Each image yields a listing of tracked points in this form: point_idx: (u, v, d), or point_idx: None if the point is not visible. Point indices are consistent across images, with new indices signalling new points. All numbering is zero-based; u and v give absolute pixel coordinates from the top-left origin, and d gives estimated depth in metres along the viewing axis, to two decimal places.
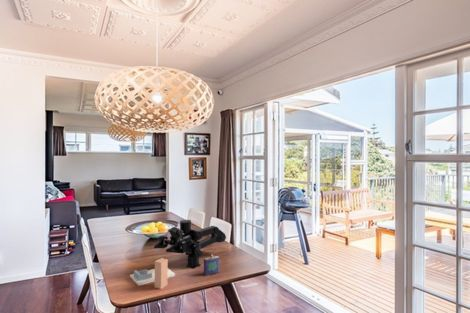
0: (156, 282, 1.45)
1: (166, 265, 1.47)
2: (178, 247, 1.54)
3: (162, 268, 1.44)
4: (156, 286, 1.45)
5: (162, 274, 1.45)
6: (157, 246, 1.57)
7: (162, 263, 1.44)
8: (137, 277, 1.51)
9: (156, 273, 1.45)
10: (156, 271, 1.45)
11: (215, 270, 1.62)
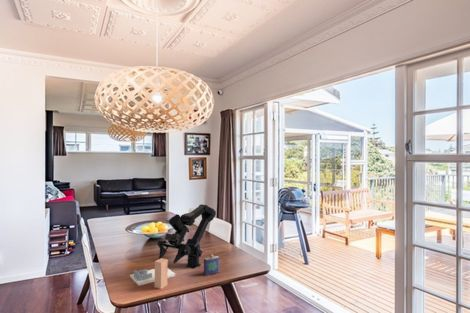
0: (156, 282, 1.45)
1: (166, 265, 1.47)
2: (183, 252, 1.51)
3: (162, 268, 1.44)
4: (156, 286, 1.45)
5: (162, 274, 1.45)
6: (161, 256, 1.54)
7: (162, 263, 1.44)
8: (137, 277, 1.51)
9: (156, 273, 1.45)
10: (156, 271, 1.45)
11: (215, 270, 1.62)
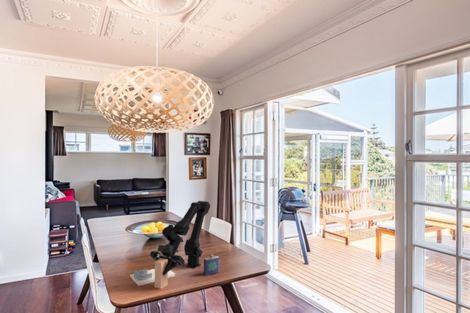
0: (156, 282, 1.45)
1: (166, 265, 1.47)
2: (172, 263, 1.47)
3: (162, 268, 1.44)
4: (156, 286, 1.45)
5: (162, 274, 1.44)
6: None
7: (162, 263, 1.44)
8: (137, 277, 1.51)
9: (156, 273, 1.45)
10: (156, 271, 1.45)
11: (215, 270, 1.62)
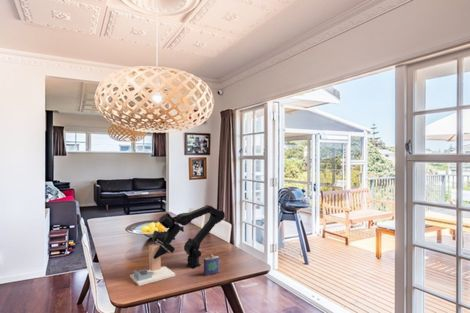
0: (149, 264, 1.58)
1: None
2: (163, 249, 1.57)
3: (153, 252, 1.56)
4: (149, 268, 1.58)
5: (153, 258, 1.56)
6: None
7: (153, 248, 1.56)
8: (137, 277, 1.51)
9: (149, 256, 1.58)
10: (149, 254, 1.58)
11: (215, 270, 1.62)
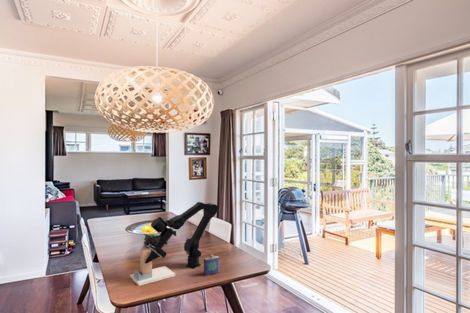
0: (140, 269, 1.55)
1: None
2: (155, 253, 1.54)
3: (144, 257, 1.53)
4: (140, 272, 1.55)
5: (144, 262, 1.53)
6: None
7: (145, 252, 1.53)
8: (137, 277, 1.51)
9: (140, 261, 1.55)
10: (141, 259, 1.55)
11: (215, 270, 1.62)
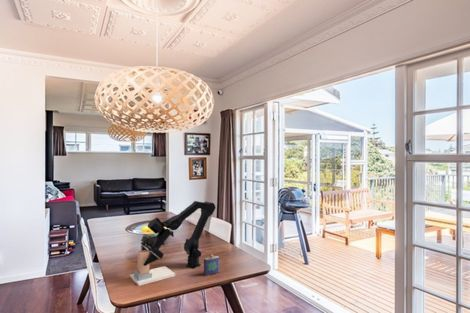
0: (138, 271, 1.54)
1: (147, 257, 1.54)
2: (154, 256, 1.51)
3: (142, 259, 1.52)
4: None
5: (142, 265, 1.52)
6: None
7: (142, 254, 1.52)
8: (137, 277, 1.51)
9: (138, 263, 1.54)
10: (138, 261, 1.54)
11: (215, 270, 1.62)
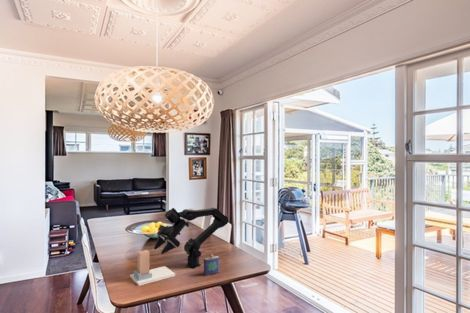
0: (138, 271, 1.54)
1: (147, 257, 1.54)
2: (171, 244, 1.57)
3: (142, 259, 1.52)
4: None
5: (142, 265, 1.52)
6: (157, 246, 1.64)
7: (142, 254, 1.52)
8: (137, 277, 1.51)
9: (138, 263, 1.54)
10: (138, 261, 1.54)
11: (215, 270, 1.62)
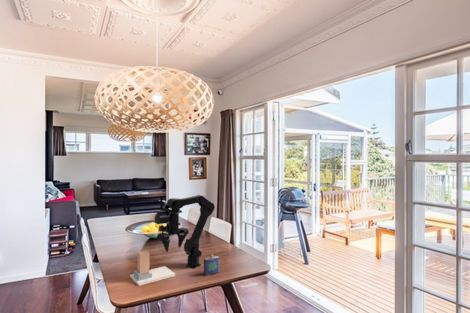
0: (138, 271, 1.54)
1: (147, 257, 1.54)
2: None
3: (142, 259, 1.52)
4: None
5: (142, 265, 1.52)
6: (179, 243, 1.67)
7: (142, 254, 1.52)
8: (137, 277, 1.51)
9: (138, 263, 1.54)
10: (138, 261, 1.54)
11: (215, 270, 1.62)
